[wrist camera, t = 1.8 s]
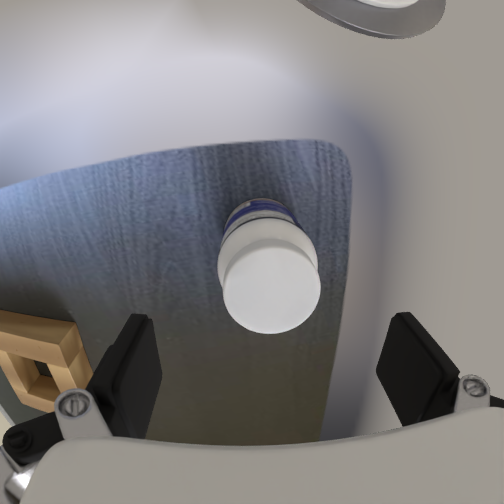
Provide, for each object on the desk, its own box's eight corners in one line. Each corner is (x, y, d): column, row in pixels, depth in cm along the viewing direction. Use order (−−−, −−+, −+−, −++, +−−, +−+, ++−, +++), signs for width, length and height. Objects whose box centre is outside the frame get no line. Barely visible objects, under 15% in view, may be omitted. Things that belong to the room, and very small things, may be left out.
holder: (0, 309, 26) (-18, 325, 22) (75, 322, 26) (58, 344, 22) (33, 385, 30) (21, 403, 26) (106, 404, 30) (96, 426, 27)
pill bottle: (295, 266, 24) (323, 341, 15) (225, 266, 24) (213, 343, 15) (299, 196, 22) (338, 236, 13) (223, 196, 22) (207, 236, 13)
